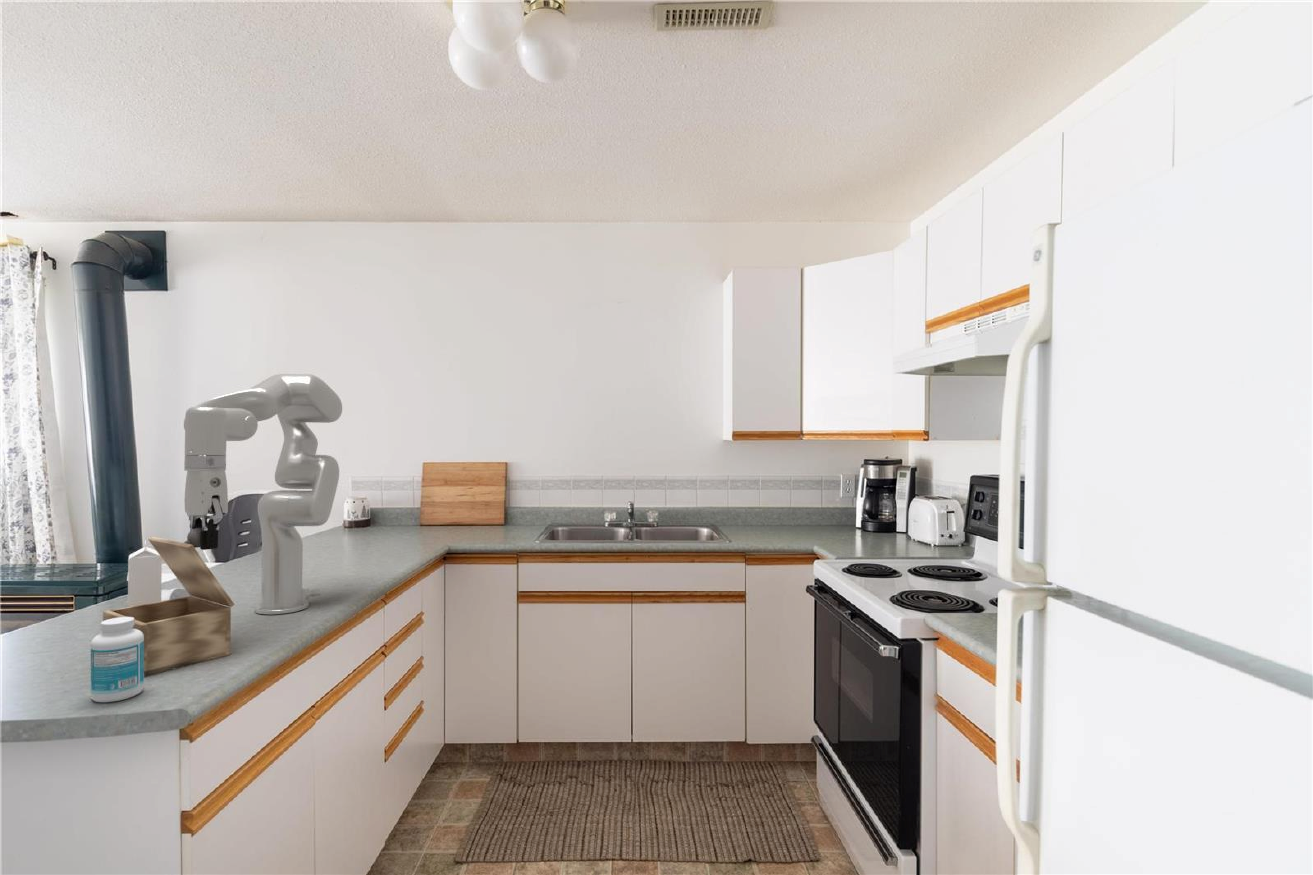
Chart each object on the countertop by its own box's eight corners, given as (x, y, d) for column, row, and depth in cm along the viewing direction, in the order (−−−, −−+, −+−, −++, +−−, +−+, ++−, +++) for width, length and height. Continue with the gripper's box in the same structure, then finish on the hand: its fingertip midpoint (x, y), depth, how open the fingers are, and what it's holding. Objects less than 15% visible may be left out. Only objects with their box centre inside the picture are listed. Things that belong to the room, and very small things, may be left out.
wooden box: (190, 640, 151) (190, 595, 151) (230, 654, 141) (230, 607, 141) (102, 659, 137) (103, 611, 137) (140, 677, 128) (140, 625, 128)
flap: (190, 595, 151) (220, 574, 156) (231, 607, 141) (261, 584, 146) (147, 539, 144) (181, 519, 149) (188, 547, 134) (222, 525, 139)
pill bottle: (110, 688, 122) (111, 614, 122) (153, 687, 123) (154, 614, 123) (79, 704, 115) (79, 626, 115) (124, 703, 115) (125, 625, 115)
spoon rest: (163, 602, 185) (163, 576, 185) (212, 599, 189) (213, 574, 189) (130, 625, 162) (131, 596, 162) (188, 621, 167) (188, 592, 167)
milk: (127, 644, 148) (127, 544, 148) (128, 637, 153) (128, 541, 152) (161, 639, 151) (161, 542, 151) (161, 632, 156) (161, 538, 156)
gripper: (243, 464, 144) (241, 549, 143) (206, 462, 153) (205, 542, 153) (204, 464, 137) (202, 554, 137) (168, 463, 147) (167, 546, 146)
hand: (203, 547), depth 145 cm, fingers closed on flap, 4 cm apart
